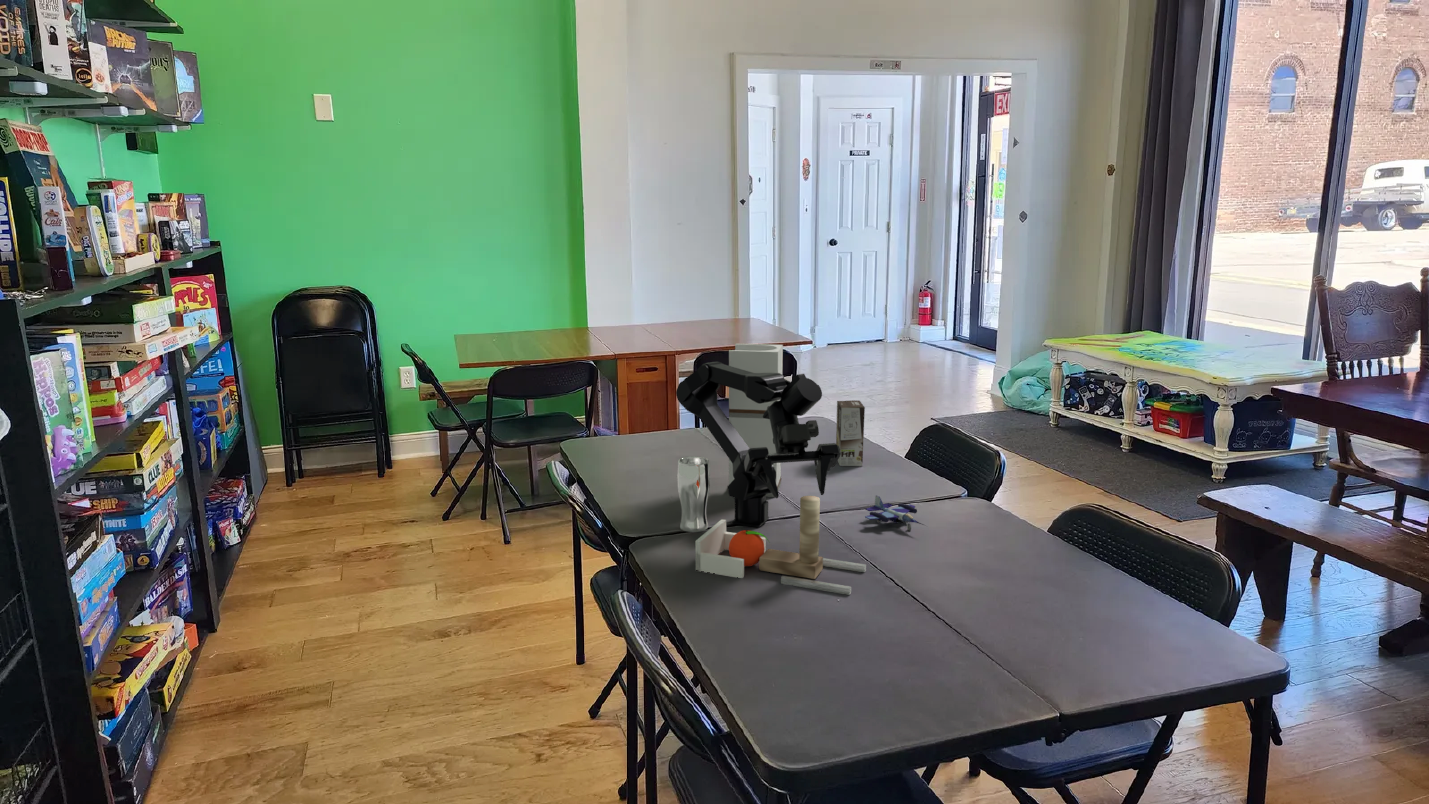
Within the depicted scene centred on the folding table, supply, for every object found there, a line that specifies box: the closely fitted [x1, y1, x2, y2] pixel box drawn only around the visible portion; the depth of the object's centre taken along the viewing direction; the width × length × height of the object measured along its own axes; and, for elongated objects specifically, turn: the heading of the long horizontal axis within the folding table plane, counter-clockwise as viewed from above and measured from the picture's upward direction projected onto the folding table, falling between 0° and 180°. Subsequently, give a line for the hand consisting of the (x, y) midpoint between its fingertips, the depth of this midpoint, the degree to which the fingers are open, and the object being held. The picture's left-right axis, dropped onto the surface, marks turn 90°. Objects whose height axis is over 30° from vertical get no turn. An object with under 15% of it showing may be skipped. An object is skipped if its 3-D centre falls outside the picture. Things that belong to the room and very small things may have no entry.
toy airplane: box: [864, 495, 927, 532], centre depth 199 cm, size 13×14×4 cm
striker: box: [758, 495, 824, 580], centre depth 172 cm, size 11×5×15 cm, turn 67°
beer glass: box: [676, 456, 711, 533], centre depth 196 cm, size 7×7×15 cm
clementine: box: [728, 529, 770, 567], centre depth 177 cm, size 8×7×7 cm
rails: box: [780, 557, 867, 596], centre depth 171 cm, size 13×12×1 cm
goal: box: [694, 518, 767, 579], centre depth 178 cm, size 10×13×6 cm
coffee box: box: [835, 399, 866, 467], centre depth 245 cm, size 9×6×16 cm
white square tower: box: [728, 343, 784, 498], centre depth 220 cm, size 11×11×35 cm
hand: (800, 495), depth 178 cm, fingers open, 9 cm apart
